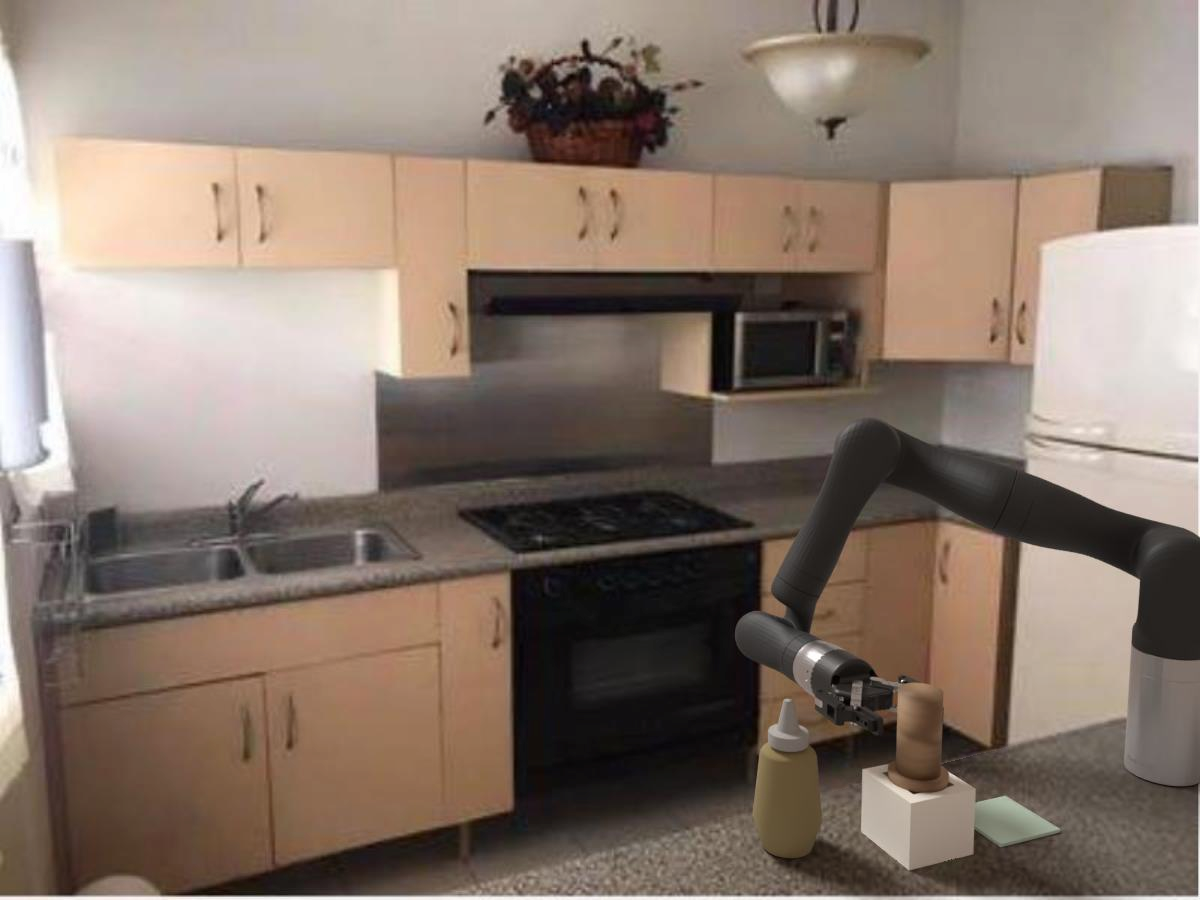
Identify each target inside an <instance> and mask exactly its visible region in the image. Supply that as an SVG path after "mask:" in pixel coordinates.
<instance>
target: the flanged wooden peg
mask: <svg viewBox="0 0 1200 900" xmlns="http://www.w3.org/2000/svg"><path fill="white" fill-rule="evenodd" d="M897 705H898V709H897V715H896V748H895V749H896V750H895V752H896V753H895V760H893V761H891V762H890V763H888V764H889V765H888V779H889V780H890V781H891V782H892V783H893V784H894V785H896V786H898V787H900V788H902V789H905V790H908V791H909V792H911V793H912V794H918V793H933V792H938V791H942V790H944V789H945V788H947V786H948V784H949V773H950V772H949V771H948V769H946V768H945V767H944V766H943V765H942V745H943V742H942V741H943V723H942V721H943V722H944V715H943V707H944V690H942V689H941V688H940V687H938V686H935V685H932V684H931V683H930V684H929V683H923V682H921V683H906V684H902V685H900V686H899V687H898V693H897ZM948 772H949V773H948Z"/></svg>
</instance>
